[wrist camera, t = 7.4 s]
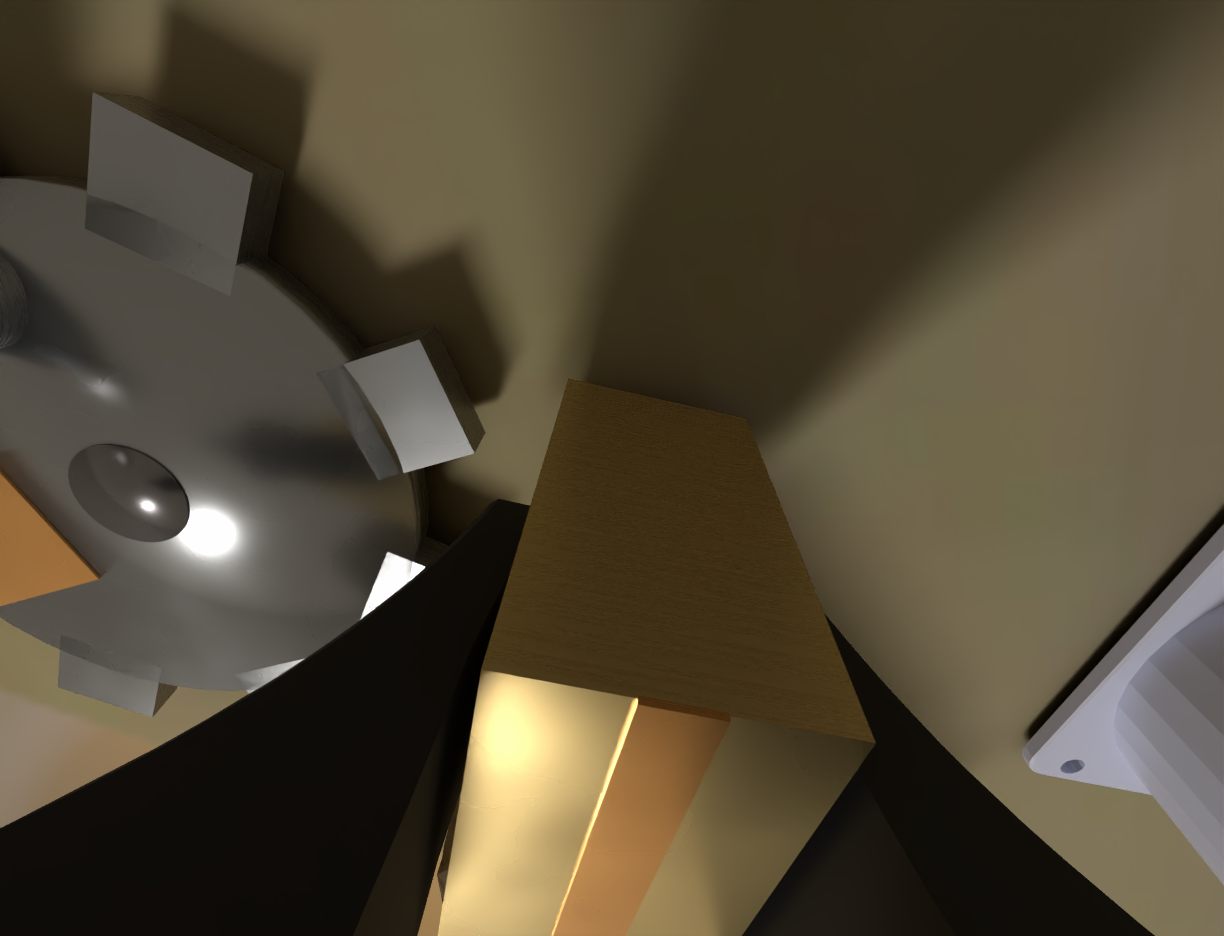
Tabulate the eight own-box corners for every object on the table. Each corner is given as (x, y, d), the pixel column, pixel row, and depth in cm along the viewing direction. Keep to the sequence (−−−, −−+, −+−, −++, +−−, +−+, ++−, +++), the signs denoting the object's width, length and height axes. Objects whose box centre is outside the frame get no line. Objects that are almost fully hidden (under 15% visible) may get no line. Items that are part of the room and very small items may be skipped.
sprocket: (246, -83, 7) (-219, -354, 3) (581, 640, 13) (557, 855, 9) (-407, 243, 9) (-1146, 312, 5) (123, 736, 15) (-56, 941, 11)
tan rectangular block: (746, 418, 10) (879, 749, 4) (673, 617, 12) (701, 1001, 6) (568, 377, 9) (478, 674, 4) (526, 588, 12) (432, 960, 6)
